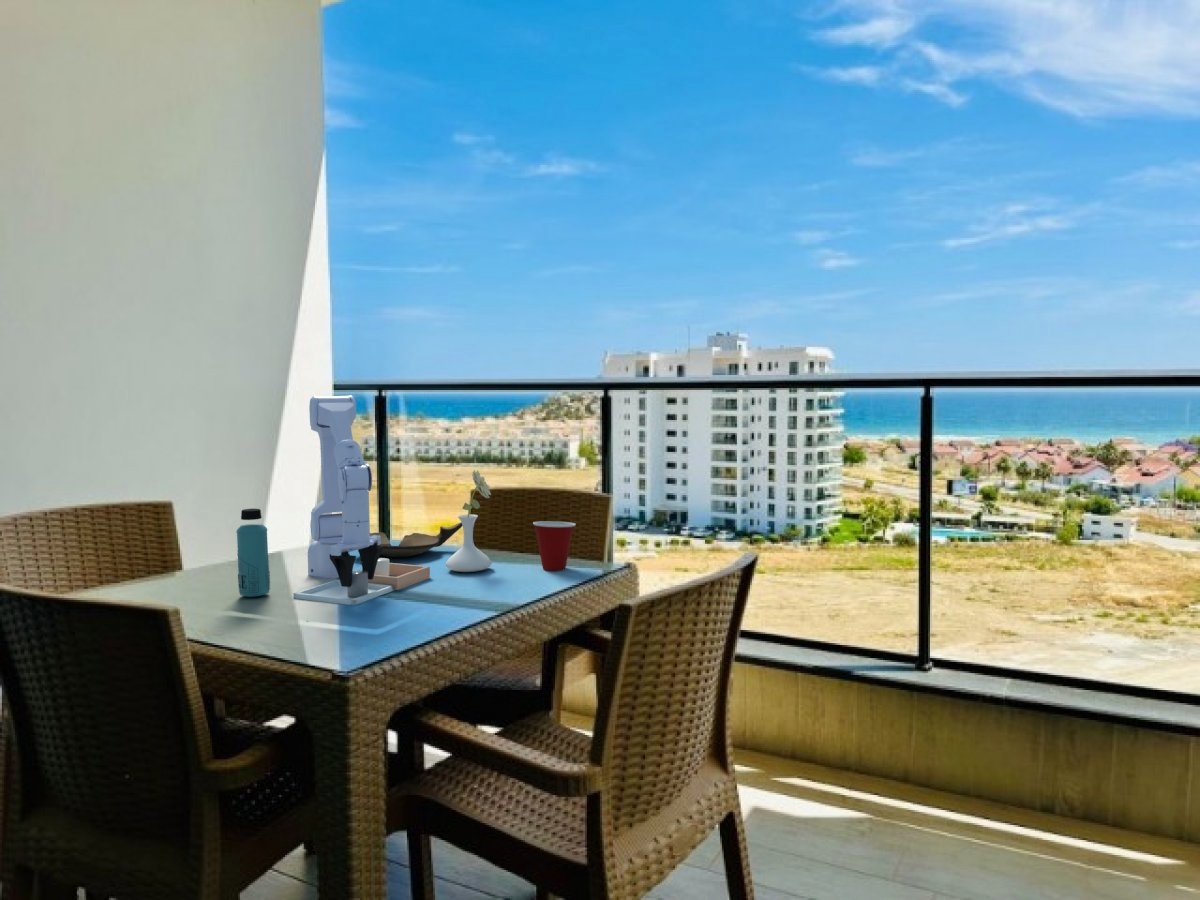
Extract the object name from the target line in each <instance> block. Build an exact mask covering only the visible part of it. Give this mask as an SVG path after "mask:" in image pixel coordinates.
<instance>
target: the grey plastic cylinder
mask: <svg viewBox="0 0 1200 900" xmlns="http://www.w3.org/2000/svg"><path fill="white" fill-rule="evenodd" d="M366 594H368V572H367V571H358V570H353V571H352V584H351V587H347V596H348V597H350V598H358V597H360V596H363V595H366Z"/></svg>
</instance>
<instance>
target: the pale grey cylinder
mask: <svg viewBox="0 0 1200 900" xmlns="http://www.w3.org/2000/svg"><path fill="white" fill-rule="evenodd" d="M389 563H390V558H385V557H379V559H378V562H377V565H376V569H375V573H374V575H382V576H391V575H390V572H389Z"/></svg>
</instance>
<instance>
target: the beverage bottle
mask: <svg viewBox="0 0 1200 900" xmlns="http://www.w3.org/2000/svg"><path fill="white" fill-rule="evenodd" d="M240 513H241V516H240V519H241V520H242V521H253V520H254V521H255V520H256V521H257V520H260V519H262V510H261V509H260V508H245V509H242V510H241V512H240ZM236 540H237V541H236V543H237V545H236V546H237V553H236V554H237V568H238V569H237V571H238V573H237V583H238V592H239V595H240V596H242V597H260V596H263V595H267V594H269V593H270V590H271V574H270V573H271V571H270V560H269V559H270V558H269V546H268V545H269V543H268V527H266V525H264V524H262V523H257V522H253V523H251V522H250V523H244V524H241V525H240V526H239V527H238V528H237V529H236Z"/></svg>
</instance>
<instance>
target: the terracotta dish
mask: <svg viewBox="0 0 1200 900" xmlns="http://www.w3.org/2000/svg"><path fill="white" fill-rule="evenodd" d="M357 571H362V569H359V570H357ZM389 572H390V576H382V575H374V577H373V579H372V580H369V579H368V583H372V584H382V585H392V586H394V591H399V590H401V589H405V588H407V587H409V586H412V585H415V584H418V583H420V582H423V581H426V580H428V579H429V580H430V579H431V567H430V566H429V565H428V566H426V565H418V564H417V565H416V564H415V565H414V564H405V563H395V562H394V563H393V562H389Z"/></svg>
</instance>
